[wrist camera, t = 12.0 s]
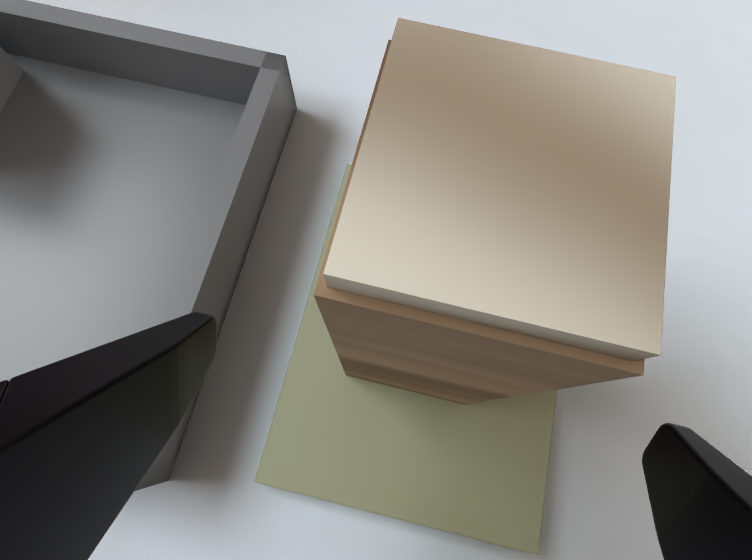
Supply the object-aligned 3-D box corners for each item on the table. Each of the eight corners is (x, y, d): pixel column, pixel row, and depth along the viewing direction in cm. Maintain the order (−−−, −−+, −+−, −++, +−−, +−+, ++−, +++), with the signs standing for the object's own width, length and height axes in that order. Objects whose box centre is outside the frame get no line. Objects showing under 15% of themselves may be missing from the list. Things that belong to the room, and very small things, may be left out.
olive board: (529, 548, 16) (537, 554, 16) (259, 479, 17) (254, 482, 16) (568, 223, 20) (576, 215, 19) (347, 173, 21) (347, 164, 20)
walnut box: (463, 404, 17) (672, 370, 5) (345, 375, 17) (308, 282, 6) (484, 291, 18) (687, 70, 7) (374, 265, 18) (390, 8, 7)
